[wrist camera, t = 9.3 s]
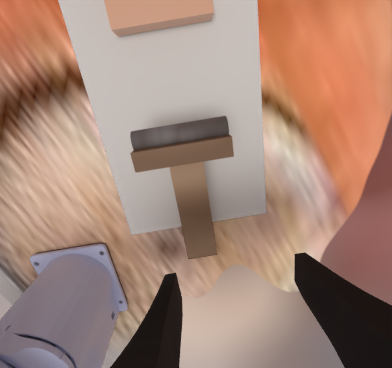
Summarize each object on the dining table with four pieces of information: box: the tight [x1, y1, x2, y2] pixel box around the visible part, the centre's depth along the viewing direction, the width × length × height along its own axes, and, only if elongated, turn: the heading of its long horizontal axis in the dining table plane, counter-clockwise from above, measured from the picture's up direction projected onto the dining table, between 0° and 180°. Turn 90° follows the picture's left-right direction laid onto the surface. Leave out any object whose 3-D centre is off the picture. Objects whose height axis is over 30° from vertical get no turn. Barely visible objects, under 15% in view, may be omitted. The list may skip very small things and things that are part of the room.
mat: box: [58, 0, 266, 235], centre depth 17 cm, size 25×14×1 cm, turn 9°
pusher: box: [130, 116, 234, 259], centre depth 17 cm, size 11×6×6 cm, turn 9°
